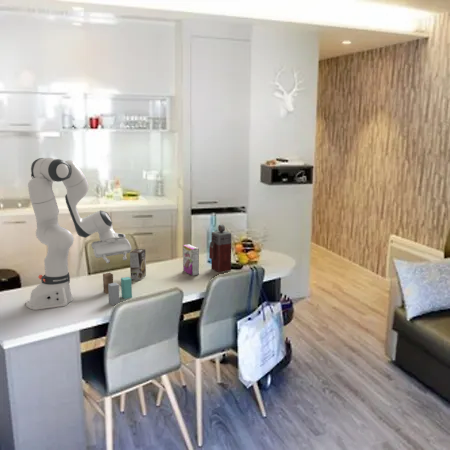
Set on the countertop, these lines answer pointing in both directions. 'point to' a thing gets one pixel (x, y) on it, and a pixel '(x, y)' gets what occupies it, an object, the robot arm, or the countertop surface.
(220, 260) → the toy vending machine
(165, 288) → the countertop surface
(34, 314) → the countertop surface
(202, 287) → the countertop surface
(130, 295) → the teal block
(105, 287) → the walnut block
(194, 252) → the candy bar box
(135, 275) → the coffee box
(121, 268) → the countertop surface
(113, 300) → the slate block
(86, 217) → the robot arm
